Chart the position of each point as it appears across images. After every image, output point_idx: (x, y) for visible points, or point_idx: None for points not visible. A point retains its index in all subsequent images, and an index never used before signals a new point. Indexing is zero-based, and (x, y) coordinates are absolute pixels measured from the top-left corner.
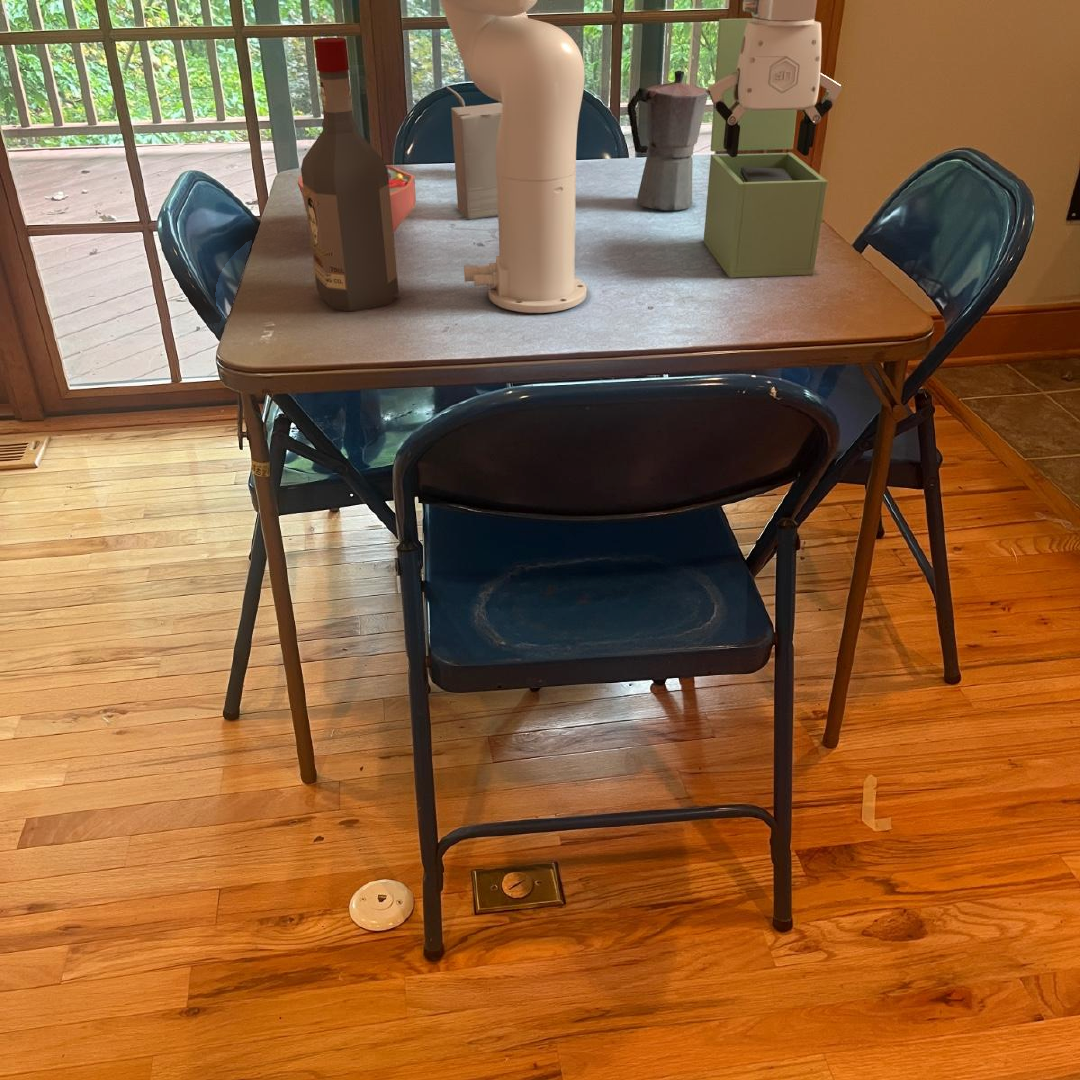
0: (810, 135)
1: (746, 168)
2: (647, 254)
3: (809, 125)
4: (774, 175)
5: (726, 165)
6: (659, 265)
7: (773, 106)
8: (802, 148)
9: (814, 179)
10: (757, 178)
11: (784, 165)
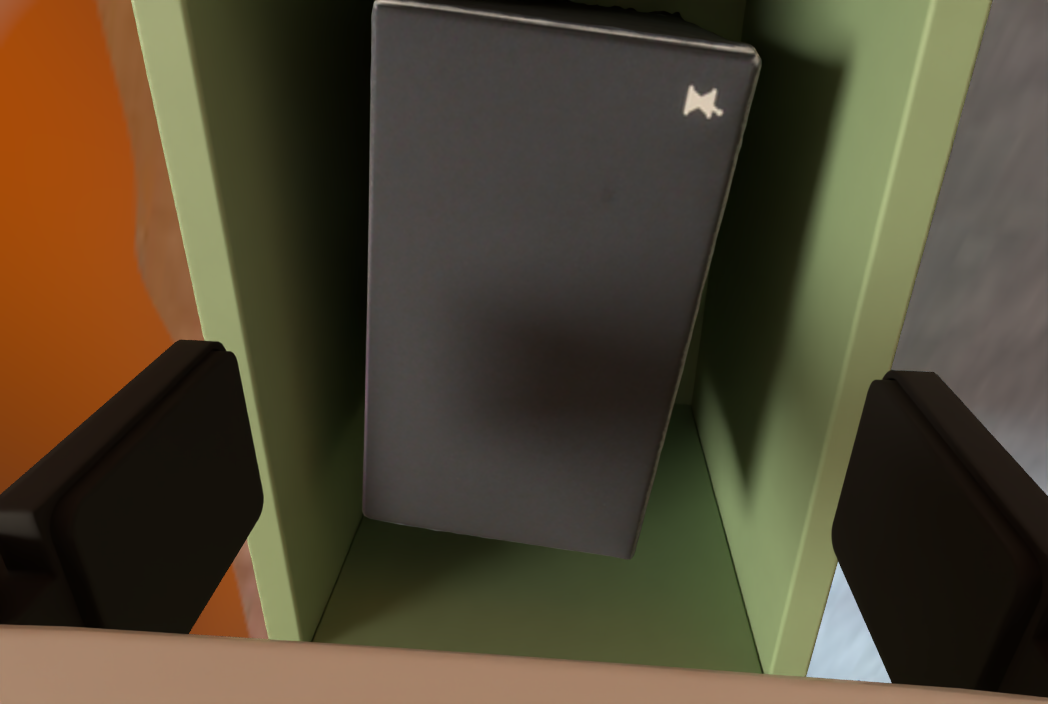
0: (87, 430)
1: (613, 527)
2: (1001, 305)
3: (40, 503)
4: (478, 346)
5: (823, 473)
6: (1023, 157)
7: (647, 700)
8: (220, 408)
9: (210, 60)
10: (634, 279)
11: (338, 599)
